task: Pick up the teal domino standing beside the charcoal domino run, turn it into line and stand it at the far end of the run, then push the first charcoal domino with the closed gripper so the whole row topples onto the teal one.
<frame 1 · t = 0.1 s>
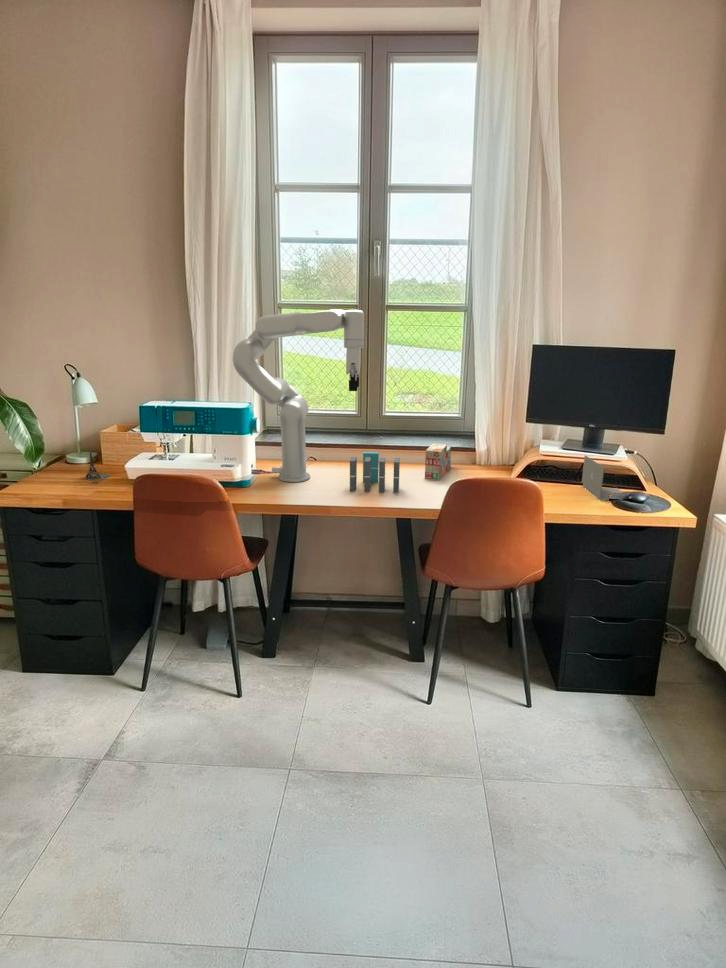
hand: (354, 388, 255), 37 cm above the table, tool pointing down, fingers open, 9 cm apart
teal domino: (370, 481, 263), on the table
domino 2: (367, 489, 254), on the table
domino 3: (381, 490, 253), on the table
laptop: (605, 494, 252), on the table
stack of blocks: (437, 473, 277), on the table
eiffel tower figurine: (94, 479, 266), on the table
domino 4: (396, 490, 253), on the table
domino 1: (353, 489, 254), on the table
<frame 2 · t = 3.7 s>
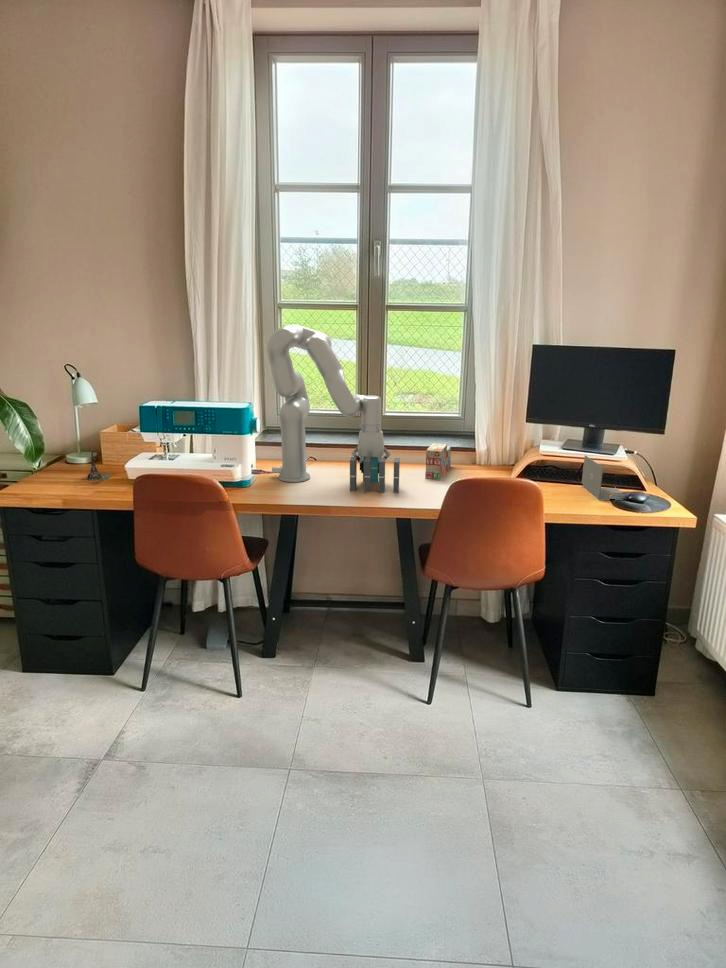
hand: (370, 472, 262), 4 cm above the table, tool pointing down, fingers closed on teal domino, 6 cm apart
teal domino: (370, 481, 263), on the table, touching gripper
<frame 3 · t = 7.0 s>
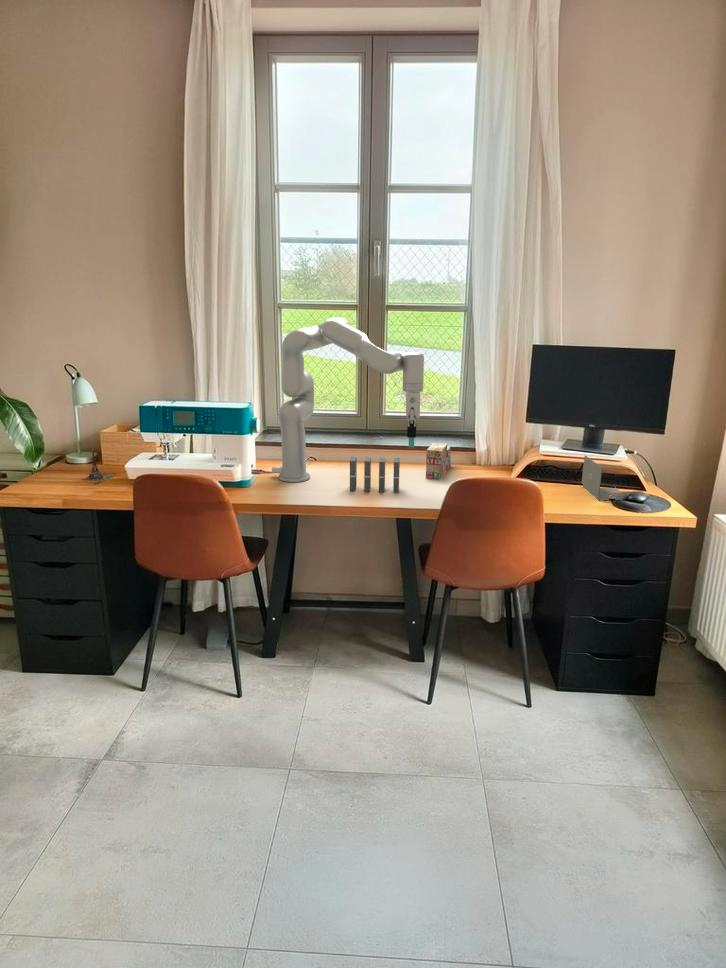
hand: (411, 434, 246), 22 cm above the table, tool pointing down, fingers closed on teal domino, 6 cm apart
teal domino: (411, 445, 247), point 18 cm above the table, touching gripper
when the fingers open (5 cm above the table, at t = 10.7 s): teal domino stays where it is, on the table.
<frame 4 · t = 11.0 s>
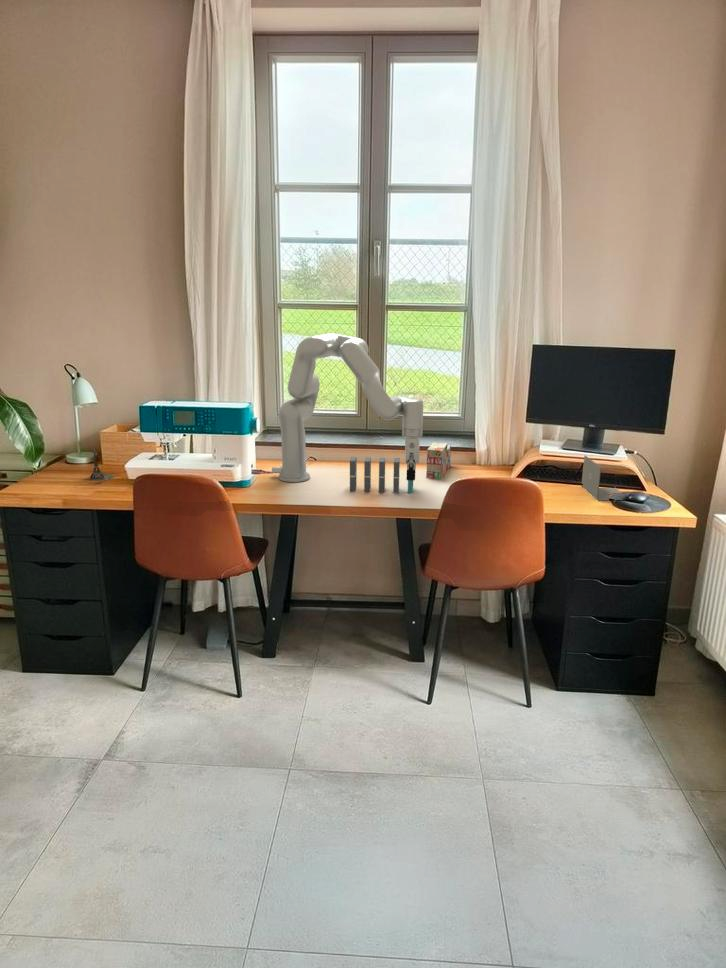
hand: (411, 476, 251), 6 cm above the table, tool pointing down, fingers open, 9 cm apart
teal domino: (410, 490, 253), on the table
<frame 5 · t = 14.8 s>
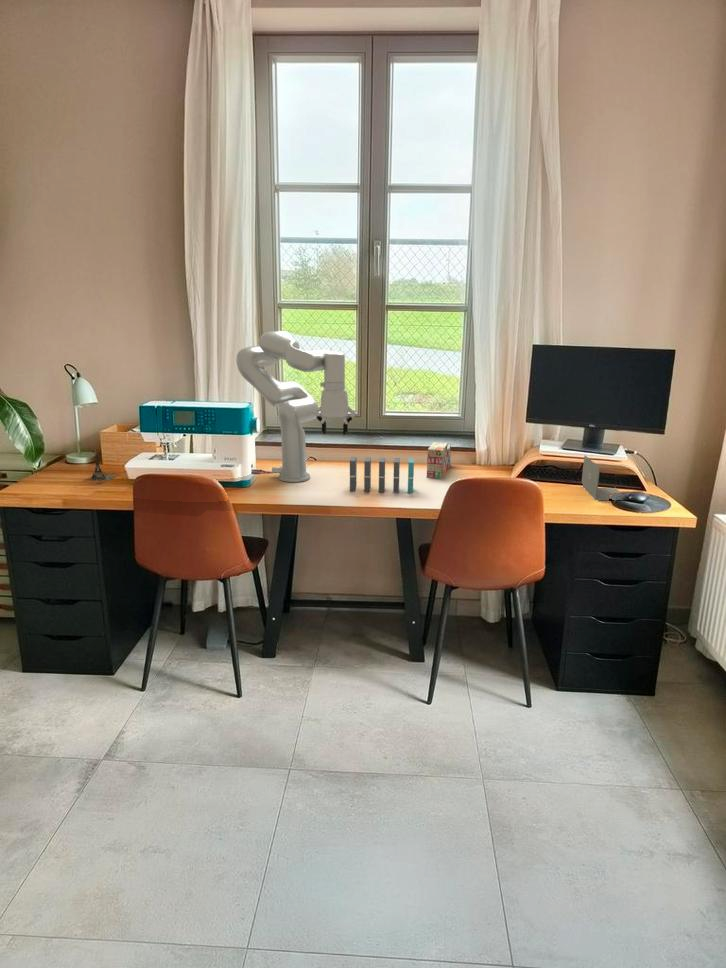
hand: (334, 433, 248), 22 cm above the table, tool pointing down, fingers open, 6 cm apart
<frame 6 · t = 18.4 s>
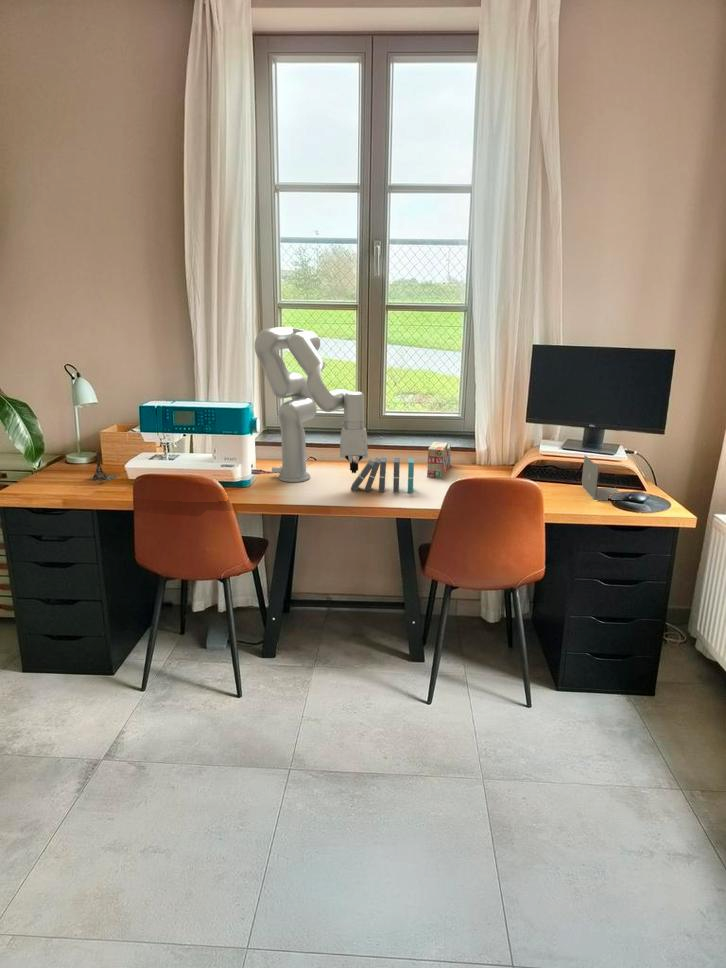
hand: (354, 472, 252), 7 cm above the table, tool pointing down, fingers closed
domino 2: (367, 488, 254), on the table, tilted 19°
domino 1: (353, 487, 254), point 1 cm above the table, tilted 34°
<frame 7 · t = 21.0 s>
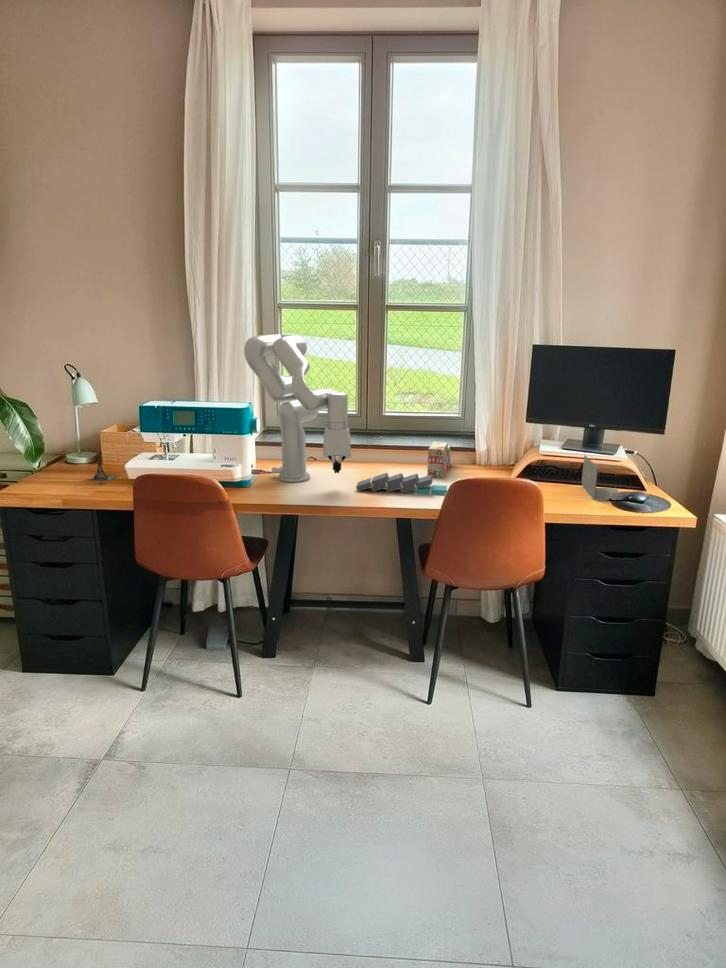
hand: (336, 472, 253), 7 cm above the table, tool pointing down, fingers closed
teal domino: (414, 489, 252), point 1 cm above the table, tilted 90°, touching domino 4
domino 2: (372, 487, 253), point 1 cm above the table, tilted 68°, touching domino 1, domino 3
domino 3: (387, 487, 253), point 1 cm above the table, tilted 68°, touching domino 2, domino 4
domino 4: (401, 488, 252), point 1 cm above the table, tilted 70°, touching domino 3, teal domino
domino 1: (358, 486, 254), point 1 cm above the table, tilted 69°, touching domino 2
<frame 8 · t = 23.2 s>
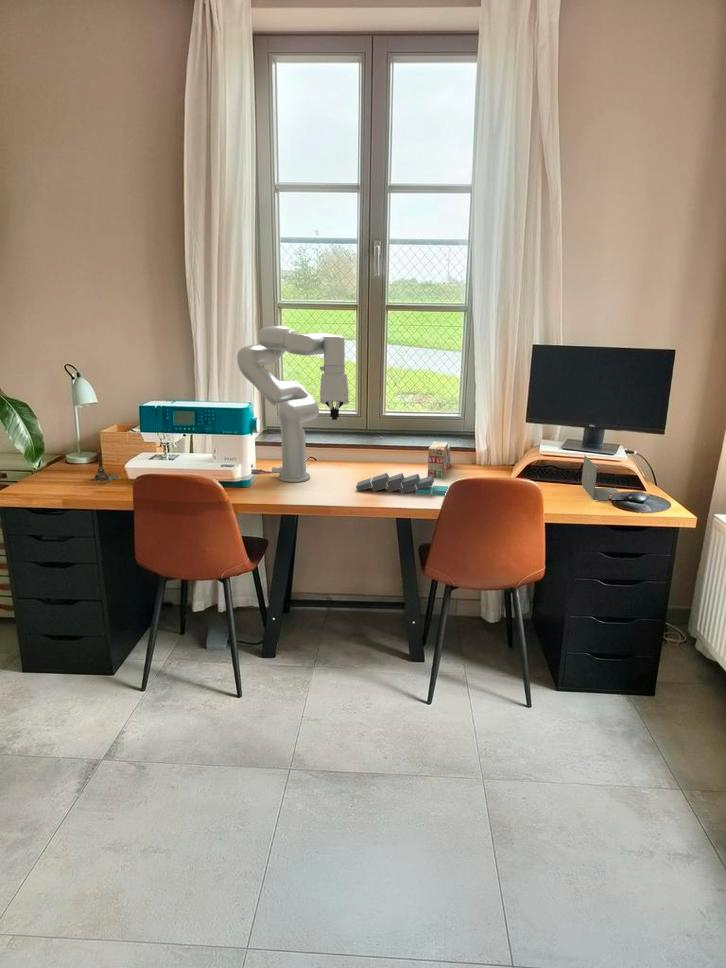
hand: (334, 419, 247), 27 cm above the table, tool pointing down, fingers closed
at the end: teal domino inside the target area (0.9 cm from its centre), point 0.8 cm above the table; domino 2 tilted 68°; teal domino tilted 90° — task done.
